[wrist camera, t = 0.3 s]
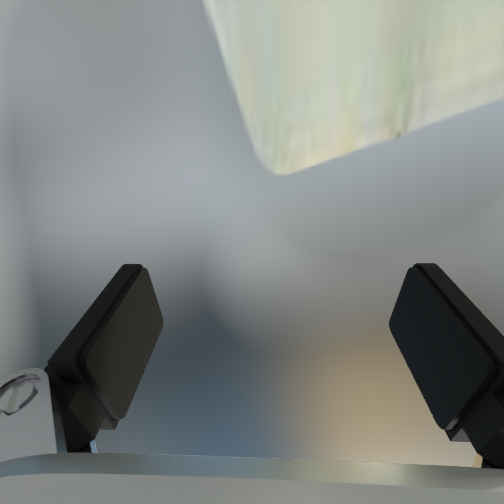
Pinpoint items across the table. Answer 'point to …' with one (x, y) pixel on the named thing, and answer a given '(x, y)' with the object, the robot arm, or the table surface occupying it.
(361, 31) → the table surface
